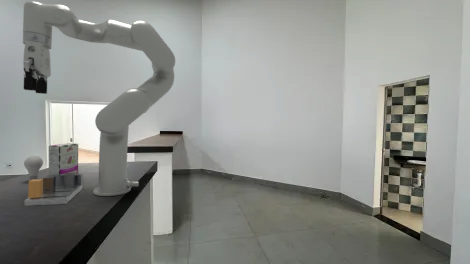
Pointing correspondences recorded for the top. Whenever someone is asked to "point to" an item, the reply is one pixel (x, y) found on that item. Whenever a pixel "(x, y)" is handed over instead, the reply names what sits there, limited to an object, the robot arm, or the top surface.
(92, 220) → the top surface
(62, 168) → the candy bar box
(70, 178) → the console
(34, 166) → the lightbulb
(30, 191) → the cap
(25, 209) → the top surface
